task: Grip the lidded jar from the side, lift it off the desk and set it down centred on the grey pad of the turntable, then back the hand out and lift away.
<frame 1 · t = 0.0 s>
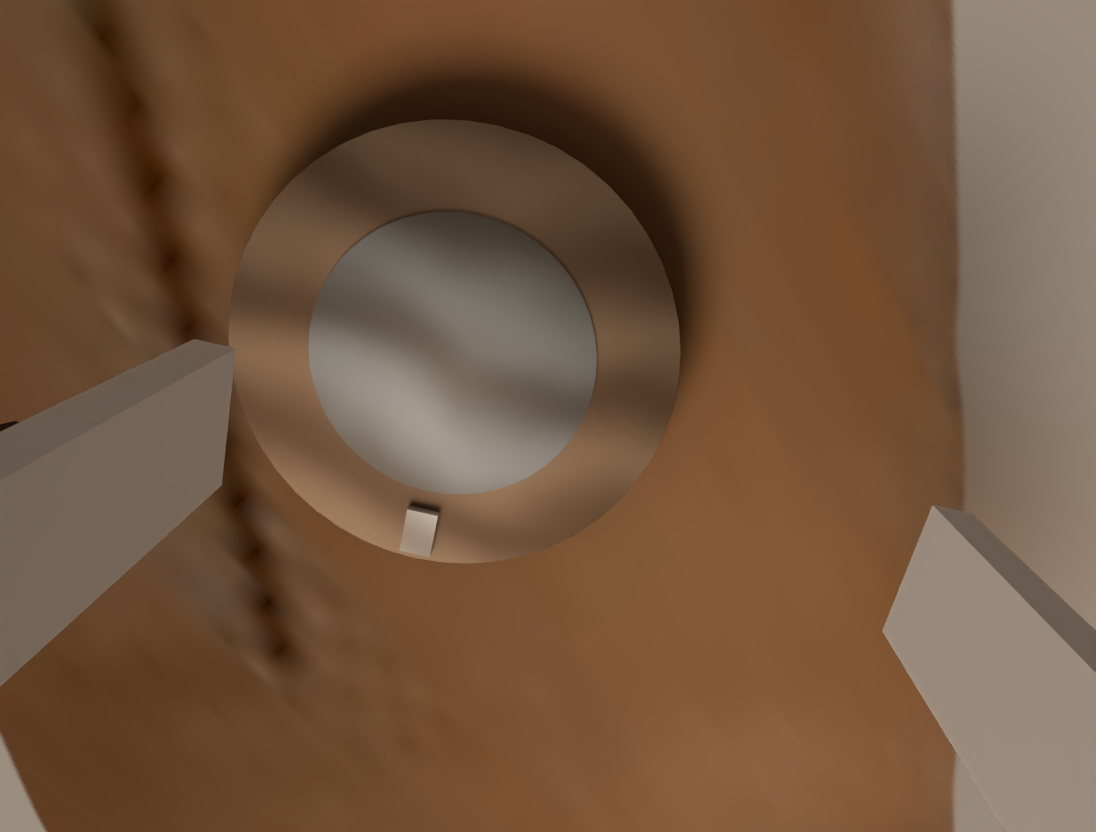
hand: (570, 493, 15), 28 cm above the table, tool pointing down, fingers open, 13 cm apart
turntable: (454, 357, 41), point 3 cm above the table, hinge at 0.0°
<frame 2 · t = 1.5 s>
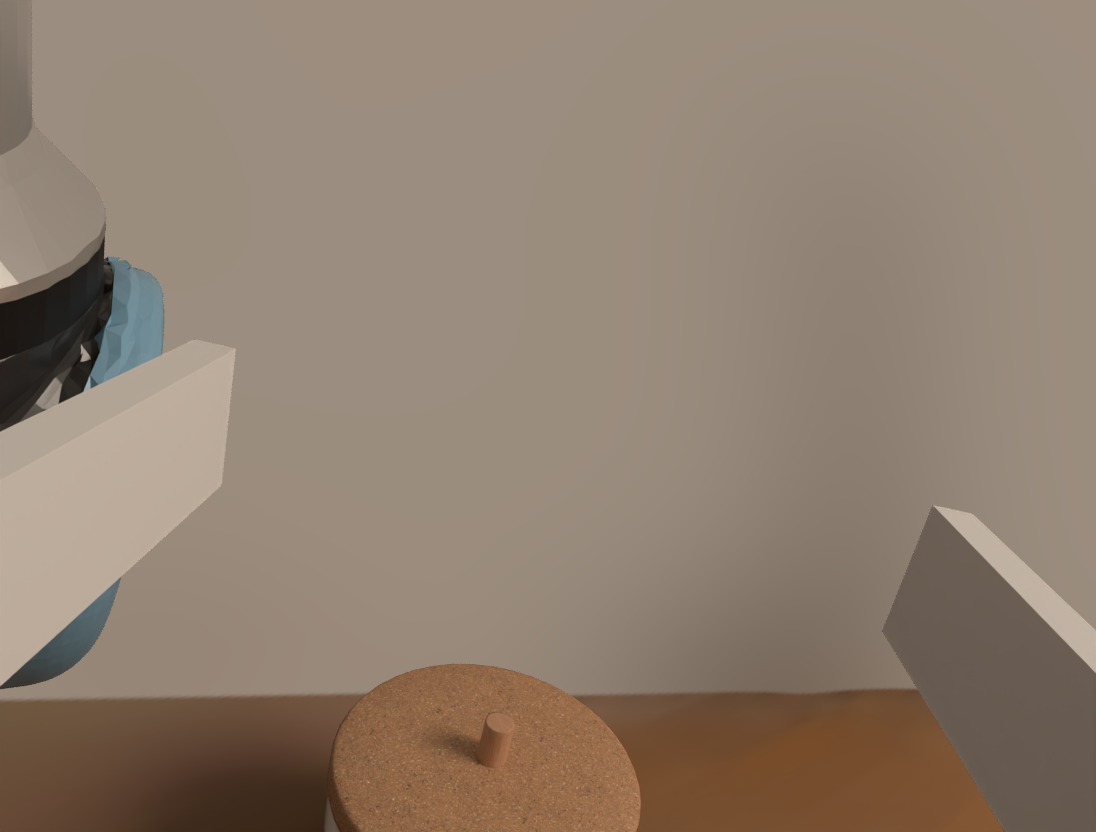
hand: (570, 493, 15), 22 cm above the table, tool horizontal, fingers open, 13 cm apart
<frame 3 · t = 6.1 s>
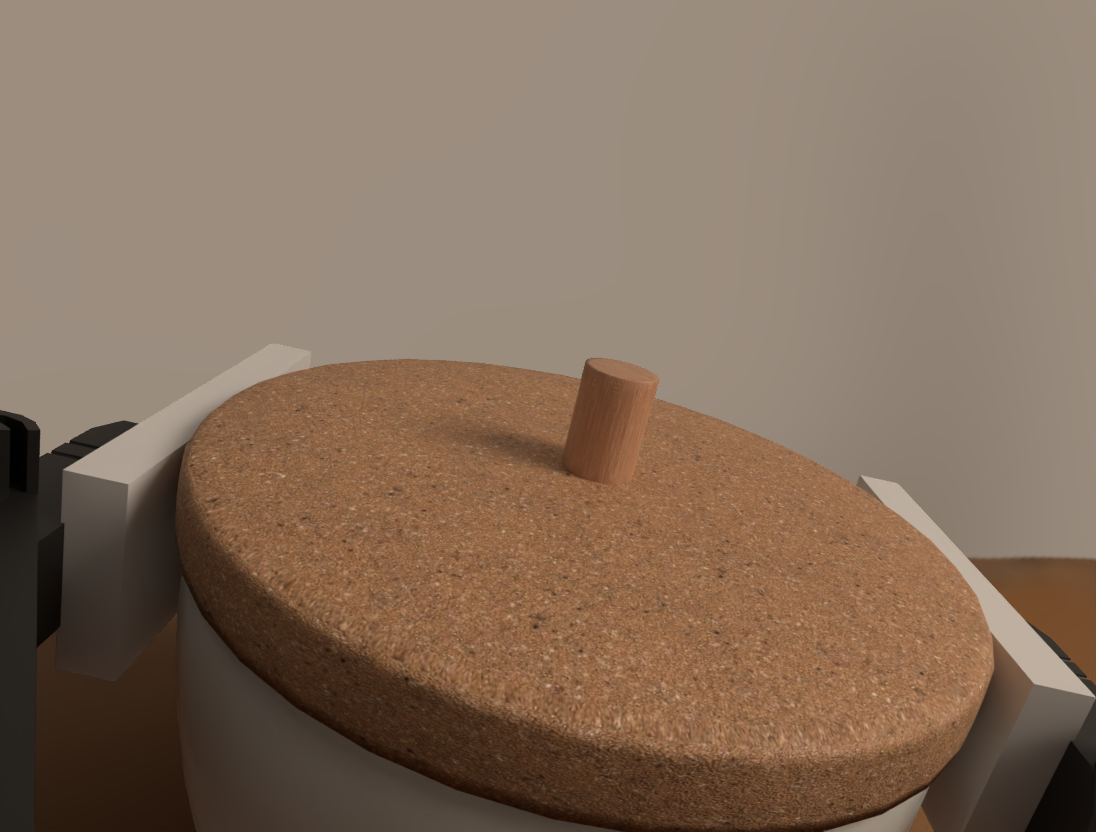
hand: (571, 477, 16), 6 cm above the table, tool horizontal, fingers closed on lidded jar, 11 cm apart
when the fingers open (11 cm above the table, at t = 11.5 s): lidded jar drops 1 cm, resting on turntable.
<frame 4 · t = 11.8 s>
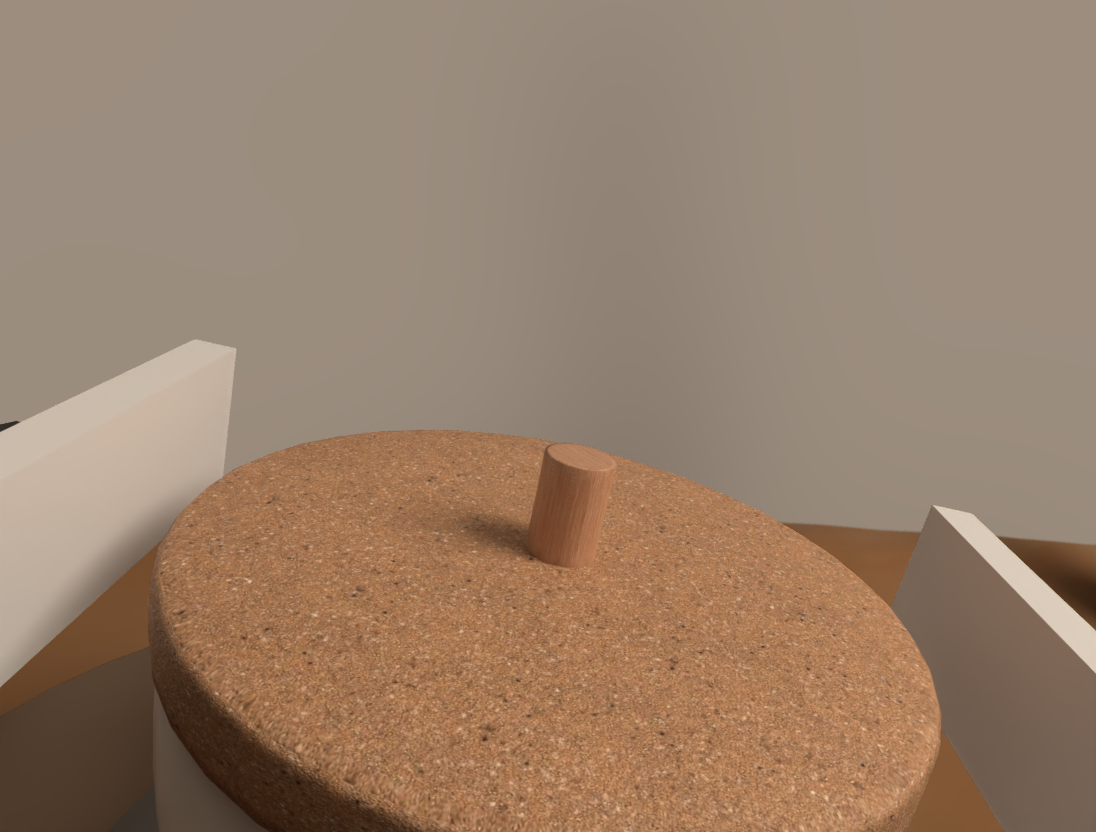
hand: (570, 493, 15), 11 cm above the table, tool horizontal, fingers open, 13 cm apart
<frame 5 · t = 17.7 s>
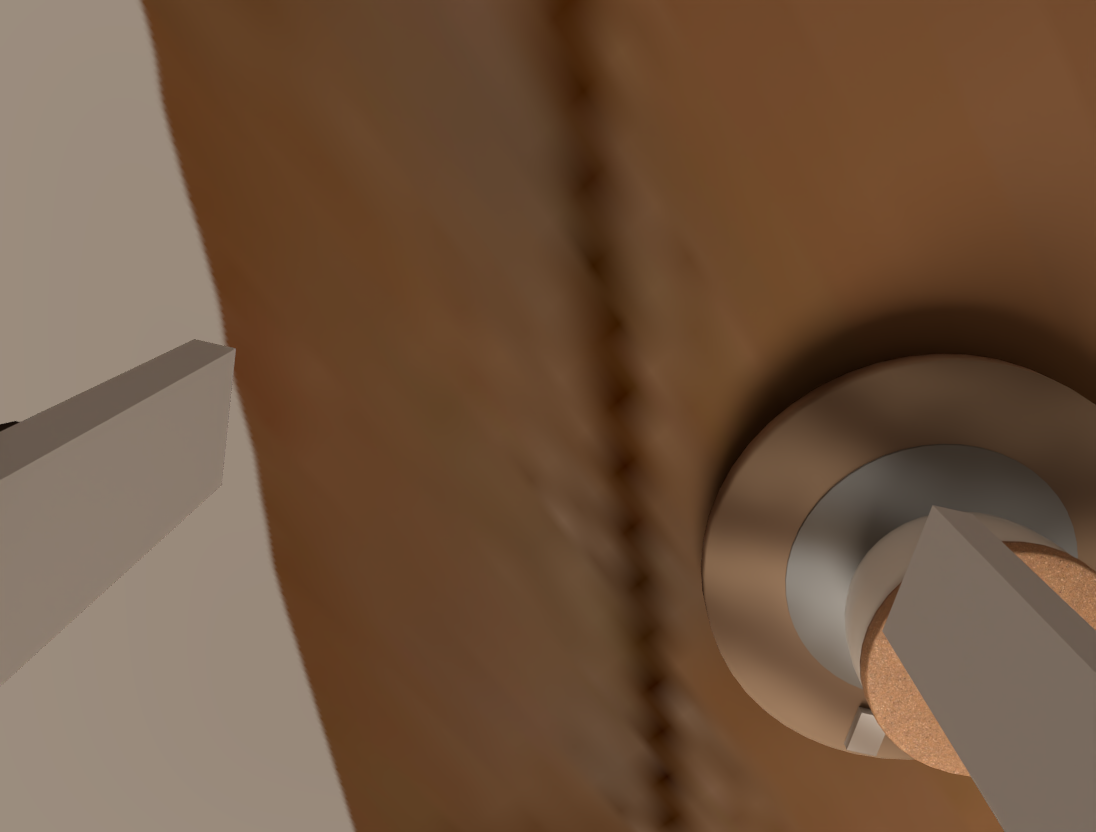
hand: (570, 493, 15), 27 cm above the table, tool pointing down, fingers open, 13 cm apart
lidded jar: (925, 575, 41), point 3 cm above the table, touching turntable
turntable: (924, 571, 42), point 3 cm above the table, hinge at 0.0°, touching lidded jar
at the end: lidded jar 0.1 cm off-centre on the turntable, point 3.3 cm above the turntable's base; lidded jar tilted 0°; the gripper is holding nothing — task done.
